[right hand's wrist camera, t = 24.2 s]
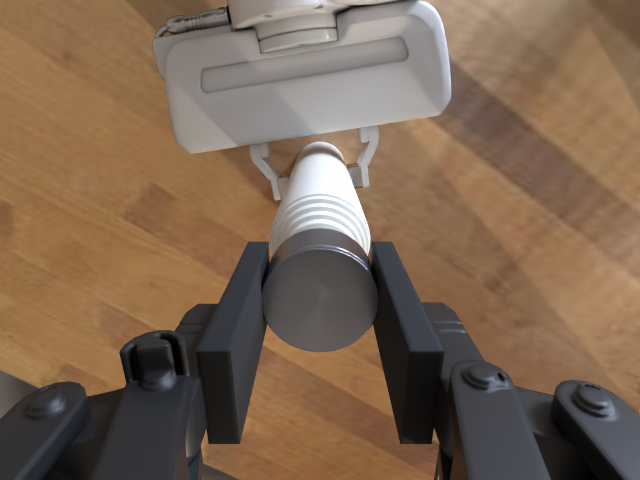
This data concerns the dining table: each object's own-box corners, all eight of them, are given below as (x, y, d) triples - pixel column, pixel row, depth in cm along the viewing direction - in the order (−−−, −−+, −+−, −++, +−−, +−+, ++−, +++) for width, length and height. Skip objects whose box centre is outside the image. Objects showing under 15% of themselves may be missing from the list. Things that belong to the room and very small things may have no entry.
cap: (386, 244, 14) (396, 267, 12) (352, 330, 16) (357, 363, 14) (283, 214, 14) (277, 234, 12) (258, 305, 15) (248, 336, 13)
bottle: (351, 149, 36) (406, 249, 13) (337, 197, 37) (364, 361, 14) (301, 135, 35) (268, 214, 12) (289, 184, 37) (240, 333, 14)
